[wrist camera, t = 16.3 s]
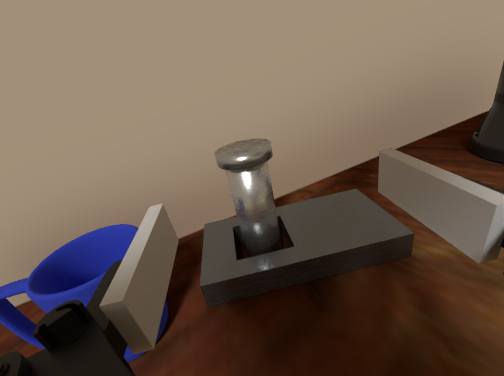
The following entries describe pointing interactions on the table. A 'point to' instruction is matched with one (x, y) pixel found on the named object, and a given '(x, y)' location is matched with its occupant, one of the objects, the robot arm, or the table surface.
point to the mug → (70, 279)
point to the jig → (302, 246)
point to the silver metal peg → (252, 193)
